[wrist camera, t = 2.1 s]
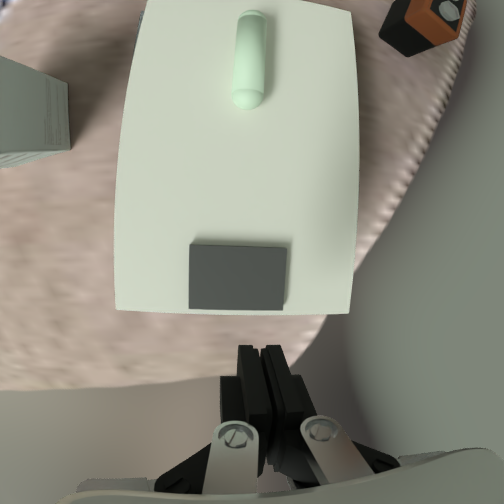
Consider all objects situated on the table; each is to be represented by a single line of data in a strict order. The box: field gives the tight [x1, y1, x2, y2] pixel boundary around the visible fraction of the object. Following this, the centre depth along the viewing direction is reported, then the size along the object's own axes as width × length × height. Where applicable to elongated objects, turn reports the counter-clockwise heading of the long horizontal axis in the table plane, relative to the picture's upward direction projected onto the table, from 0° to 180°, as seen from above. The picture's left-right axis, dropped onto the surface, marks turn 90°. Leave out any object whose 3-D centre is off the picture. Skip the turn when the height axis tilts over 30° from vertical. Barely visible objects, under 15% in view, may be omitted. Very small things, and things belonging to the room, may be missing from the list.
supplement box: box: [0, 56, 71, 169], centre depth 17 cm, size 7×7×13 cm
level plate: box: [114, 0, 359, 315], centre depth 19 cm, size 24×16×4 cm, turn 176°
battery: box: [379, 0, 467, 57], centre depth 20 cm, size 4×7×10 cm, turn 154°
